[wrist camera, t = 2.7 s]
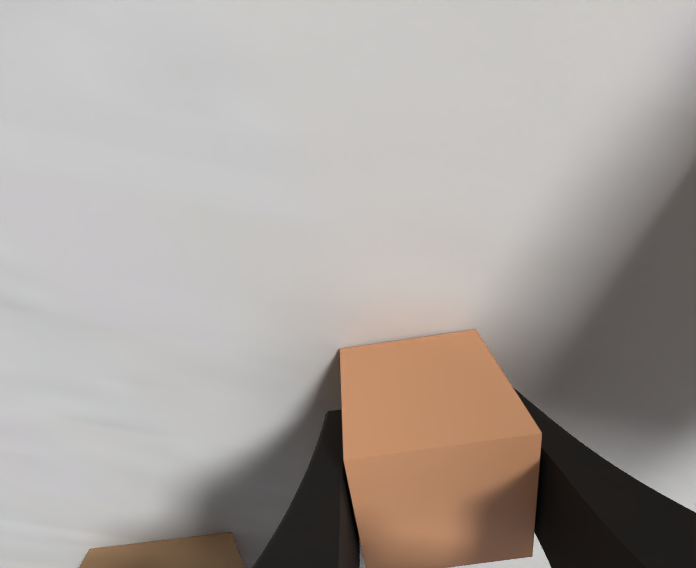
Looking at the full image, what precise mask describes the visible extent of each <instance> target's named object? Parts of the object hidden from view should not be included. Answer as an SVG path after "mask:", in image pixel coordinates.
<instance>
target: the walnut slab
mask: <svg viewBox="0 0 696 568" xmlns="http://www.w3.org/2000/svg"><path fill="white" fill-rule="evenodd" d="M80 568H245V566H244V563H243V561H242V558H241V555H240V553H239V550H238V548H237V545H236V542H235V540H234V537H233V534H232V532H229V533H221V534H212V535H204V536H195V537H186V538H178V539H169V540H161V541H152V542H144V543H135V544H127V545H118V546H110V547H101V548H93V549H89V551H88V553H87V555H86V557H85V559H84V560H83V562H82V564H81V566H80Z"/></svg>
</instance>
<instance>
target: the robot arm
mask: <svg viewBox="0 0 696 568" xmlns="http://www.w3.org/2000/svg"><path fill="white" fill-rule="evenodd" d="M514 390H515V389H514ZM515 392H516V393H517V395H518V396H519V398H520V399H521V401H522V403H523V404H524V406H525V407H526V409H527V410H528V412H529V414H530V415H531V417H532V418H533V420H534V421H535V423H536V424H537V426H538V428H539V429H540V431H541V432H542V440H541V452H540V465H539V478H538V490H537V503H536V516H535V528H534V532H535V534H536V536H537V538H538V540H539V542H540V544H541V546H542V548H543V550H544V552H545V555H546V557H547V559H548V561H549V563H550V566H551V568H696V513H695V512H693V511H692V510H690V509H688V508H686V507H684V506H682V505H680V504H679V503H677V502H675V501H673V500H671V499H669V498H668V497H666V496H664V495H662V494H660V493H658V492H657V491H655V490H653V489H652V488H650V487H648V486H646V485H645V484H643V483H641V482H640V481H638V480H636V479H635V478H633V477H632V476H630V475H628V474H627V473H625V472H624V471H622V470H620V469H619V468H617V467H616V466H614V465H613V464H611V463H610V462H608V461H606V460H605V459H604V458H602V457H601V456H599V455H598V454H596V453H595V452H594V451H592V450H591V449H589V448H588V447H587V446H585V445H584V444H582V443H581V442H580V441H578V440H577V439H576V438H574V437H573V436H572V435H571V434H569V433H568V432H567V431H565V430H564V429H563V428H562V427H560V426H559V425H558V424H556V423H555V422H554V421H553V420H551V419H550V418H549V417H548V416H546V415H545V414H544V413H543V412H542V411H540V410H539V409H538V408H537V407H536V406H534V405H533V404H532V403H531V402H530V401H529V400H527V399H526V398H525V397H524V396H523V395H521V394H520V393H519V392H518V391H517V390H515ZM359 566H360V537H359V532H358V528H357V523H356V518H355V513H354V508H353V504H352V499H351V494H350V489H349V484H348V479H347V475H346V470H345V465H344V460H343V430H342V410H335V411H328V412H327V414H326V415H325V419H324V423H323V427H322V430H321V434H320V437H319V440H318V443H317V446H316V448H315V451H314V453H313V456H312V459H311V461H310V464H309V466H308V469H307V471H306V473H305V476H304V478H303V480H302V482H301V484H300V486H299V488H298V491H297V493H296V495H295V497H294V499H293V501H292V503H291V505H290V507H289V509H288V511H287V512H286V514H285V516H284V518H283V520H282V521H281V523H280V525H279V527H278V528H277V530H276V532H275V533H274V535H273V537H272V538H271V540H270V542H269V543H268V545H267V546H266V548H265V550H264V551H263V553H262V554H261V556H260V557H259V559H258V560H257V562H256V563H255V565H254V566H253V568H359Z"/></svg>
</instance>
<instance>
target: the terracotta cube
mask: <svg viewBox="0 0 696 568" xmlns="http://www.w3.org/2000/svg"><path fill="white" fill-rule="evenodd" d="M340 370H341V400H342V430H343V460H344V465H345V470H346V475H347V479H348V484H349V489H350V494H351V499H352V504H353V508H354V513H355V518H356V523H357V528H358V532H359V537H360V542H361V547H362V552H363V557H364V561H365V566H366V568H447V567H455V566H462V565H470V564H478V563H486V562H494V561H501V560H509V559H517V558H525V557H532V554H533V541H534V528H535V516H536V503H537V490H538V478H539V465H540V452H541V440H542V432H541V431H540V429H539V428H538V426H537V424H536V423H535V421H534V420H533V418H532V417H531V415H530V414H529V412H528V410H527V409H526V407H525V406H524V404H523V403H522V401H521V399H520V398H519V396H518V395H517V393H516V392H515V390H514V388H513V387H512V385H511V384H510V382H509V381H508V379H507V378H506V376H505V374H504V373H503V371H502V370H501V368H500V367H499V365H498V363H497V362H496V360H495V359H494V357H493V356H492V354H491V352H490V351H489V349H488V348H487V346H486V345H485V343H484V342H483V340H482V338H481V337H480V335H479V334H478V332H477V331H476V329H474V330H467V331H460V332H453V333H447V334H440V335H433V336H426V337H419V338H412V339H405V340H398V341H391V342H384V343H377V344H370V345H363V346H356V347H349V348H342V349H340Z"/></svg>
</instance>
